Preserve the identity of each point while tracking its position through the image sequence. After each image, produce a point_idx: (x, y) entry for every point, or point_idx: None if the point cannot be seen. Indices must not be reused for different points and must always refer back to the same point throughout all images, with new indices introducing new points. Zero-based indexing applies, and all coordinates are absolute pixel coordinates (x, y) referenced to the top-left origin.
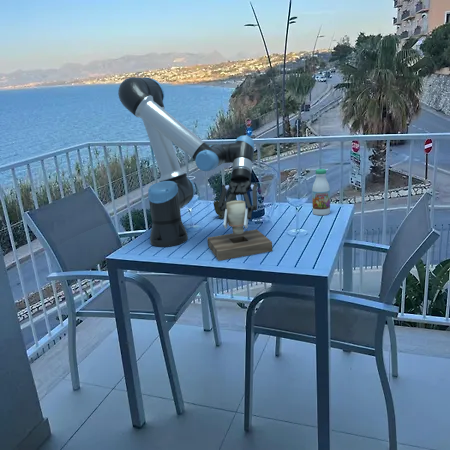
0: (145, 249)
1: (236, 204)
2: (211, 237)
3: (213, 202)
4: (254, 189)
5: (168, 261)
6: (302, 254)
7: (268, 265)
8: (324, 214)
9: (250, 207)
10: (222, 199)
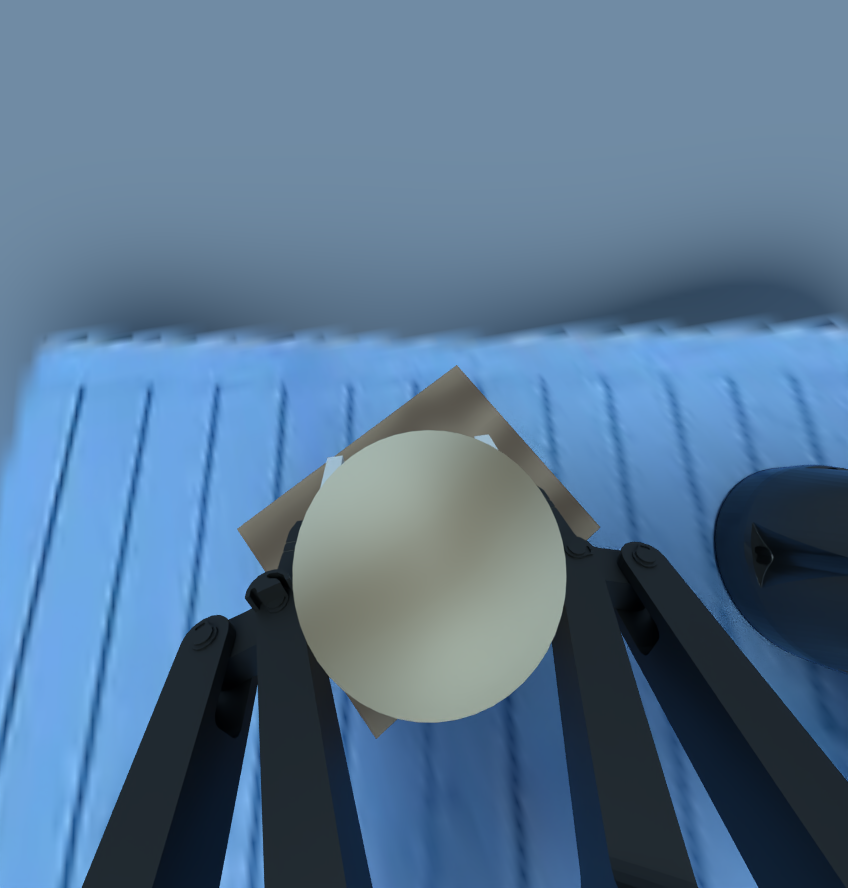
0: (817, 432)
1: (388, 474)
2: (578, 533)
3: None
4: None
5: (634, 343)
6: (124, 515)
7: (250, 382)
8: None
9: (258, 589)
10: (709, 670)
